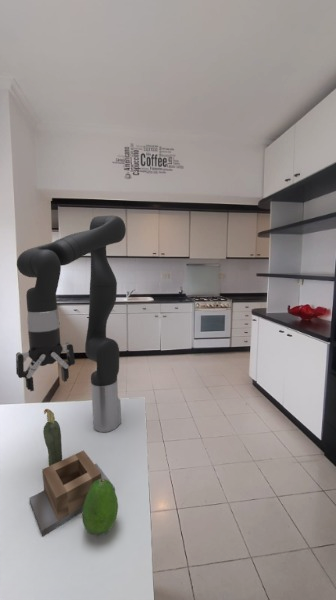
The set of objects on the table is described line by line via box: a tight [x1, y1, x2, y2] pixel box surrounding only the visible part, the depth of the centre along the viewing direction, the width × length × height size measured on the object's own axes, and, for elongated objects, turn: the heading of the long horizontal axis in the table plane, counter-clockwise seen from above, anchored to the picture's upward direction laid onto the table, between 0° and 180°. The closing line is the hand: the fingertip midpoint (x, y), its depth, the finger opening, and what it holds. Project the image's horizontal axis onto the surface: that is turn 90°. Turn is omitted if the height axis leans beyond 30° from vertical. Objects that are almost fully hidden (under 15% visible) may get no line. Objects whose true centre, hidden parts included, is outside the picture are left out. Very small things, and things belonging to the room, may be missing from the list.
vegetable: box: [42, 408, 63, 467], centre depth 77 cm, size 4×4×20 cm
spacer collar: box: [28, 450, 116, 537], centre depth 70 cm, size 18×11×8 cm, turn 129°
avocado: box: [81, 479, 119, 536], centre depth 61 cm, size 8×8×12 cm
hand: (48, 385), depth 74 cm, fingers open, 8 cm apart
